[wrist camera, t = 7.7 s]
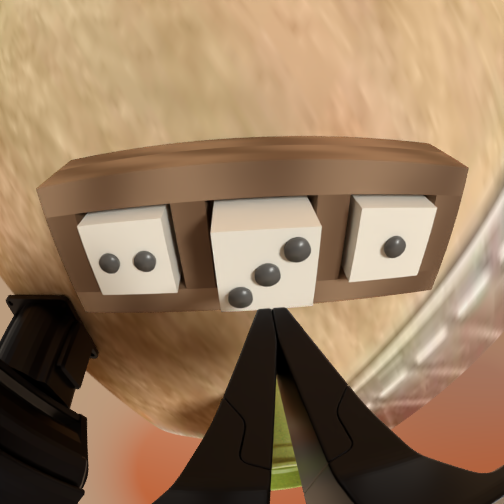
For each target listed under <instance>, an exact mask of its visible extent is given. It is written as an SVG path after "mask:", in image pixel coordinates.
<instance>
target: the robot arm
mask: <svg viewBox="0 0 504 504" xmlns="http://www.w3.org/2000/svg"><path fill="white" fill-rule="evenodd" d="M6 303H7V305H8V306H9V308H10V310H11V311H12V313H13V314H14V317H13V318H12V320H11V322H10V324H9V326H8V327H7V329H6V331H5V333H4V335H3V337H2V339H1V341H0V504H78V502H79V501H80V499H81V498H82V497H83V495H84V493H85V491H84V490H83V489H82V488H83V487H84V484H85V482H86V479H87V476H88V449H87V418H86V417H85V416H83V415H81V414H77V413H76V412H74V411H73V410H71V409H70V406H71V402H72V399H73V395H74V392H75V389H79V388H80V387H81V385H82V381H83V378H84V374H85V371H86V368H87V365H88V362H89V359H90V358H97V357H98V354H99V352H98V350H97V348H96V346H95V345H94V343H93V341H92V340H91V338H90V336H89V334H88V333H87V331H86V329H85V327H84V326H83V324H82V322H81V320H80V318H79V316H78V314H77V313H76V311H75V309H74V307H73V305H72V303H71V301H70V300H69V298H67V297H66V296H63V295H9V296H8V297H7V299H6ZM276 377H277V382H278V387H279V391H280V395H281V400H282V404H283V408H284V412H285V417H286V421H287V425H288V429H289V433H290V438H291V442H292V446H293V450H294V455H295V459H296V463H297V467H298V471H299V476H300V480H301V484H302V488H303V492H304V496H305V500H306V504H504V465H503V466H501V467H500V468H498V469H496V470H495V471H493V472H490V473H477V472H472V471H468V470H465V469H462V468H458V467H455V466H452V465H449V464H446V463H442V462H440V461H437V460H434V459H431V458H428V457H425V456H423V455H421V454H419V453H417V452H416V451H414V450H413V449H411V448H410V447H409V446H408V445H406V444H405V443H404V442H403V441H402V440H401V439H400V438H399V437H398V436H397V435H396V434H395V433H393V432H392V431H391V430H390V429H389V428H388V427H387V426H386V425H385V424H384V423H383V422H382V421H381V420H380V419H379V418H378V417H377V416H376V415H375V414H374V413H372V412H371V411H370V410H369V409H368V407H367V406H366V405H365V404H364V403H363V402H362V401H361V400H360V398H359V397H358V396H357V395H356V394H355V392H354V391H353V390H352V389H351V387H350V386H347V385H348V384H347V383H346V381H345V380H344V379H343V378H342V377H341V375H340V374H339V373H338V372H337V370H336V369H335V368H334V367H333V365H332V364H331V363H330V362H329V360H328V359H327V358H326V357H325V355H324V354H323V353H322V352H321V351H320V349H319V348H318V347H317V346H316V344H315V343H314V342H313V341H312V339H311V338H310V337H309V336H308V334H307V333H306V332H305V331H304V329H303V328H302V327H301V326H300V324H299V323H298V322H297V321H296V319H295V318H294V317H293V316H292V314H291V313H290V312H289V311H288V309H287V308H285V307H278V308H273V309H270V308H264V309H258V310H257V312H256V315H255V318H254V320H253V323H252V325H251V328H250V331H249V333H248V336H247V338H246V341H245V343H244V346H243V348H242V351H241V354H240V356H239V359H238V361H237V364H236V366H235V369H234V371H233V374H232V376H231V379H230V381H229V384H228V386H227V389H226V391H225V394H224V396H223V399H222V401H221V403H220V405H219V408H218V410H217V412H216V415H215V417H214V419H213V421H212V423H211V425H210V427H209V429H208V431H207V432H206V434H205V436H204V438H203V440H202V441H201V443H200V445H199V446H198V448H197V449H196V451H195V453H194V454H193V456H192V458H191V459H190V461H189V462H188V464H187V465H186V467H185V469H184V470H183V472H182V473H181V475H180V476H179V477H178V479H177V480H176V481H175V483H174V484H173V485H172V486H171V487H170V488H169V489H168V490H167V491H166V492H165V493H164V494H163V495H162V496H160V497H159V498H158V499H157V500H156V501H154V502H153V503H152V504H270V491H271V475H272V458H273V440H274V420H275V397H276Z"/></svg>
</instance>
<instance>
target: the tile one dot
mask: <svg viewBox="0 0 504 504" xmlns="http://www.w3.org/2000/svg"><path fill="white" fill-rule="evenodd" d="M436 210H437V207H436V206H435V205H434V204H433V203H432V202H430V201H429V200H428V199H427V198H426V197H425V196H424V195H409V194H351V195H350V204H349V211H348V219H347V226H346V233H345V240H344V247H343V253H342V259H341V266H342V268H343V270H344V272H345V275H346V277H347V279H348V281H349V282H358V281H368V280H378V279H388V278H398V277H407V276H416V275H417V274H418V271H419V268H420V265H421V262H422V259H423V256H424V253H425V249H426V246H427V243H428V239H429V236H430V233H431V229H432V225H433V222H434V218H435V214H436Z"/></svg>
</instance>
